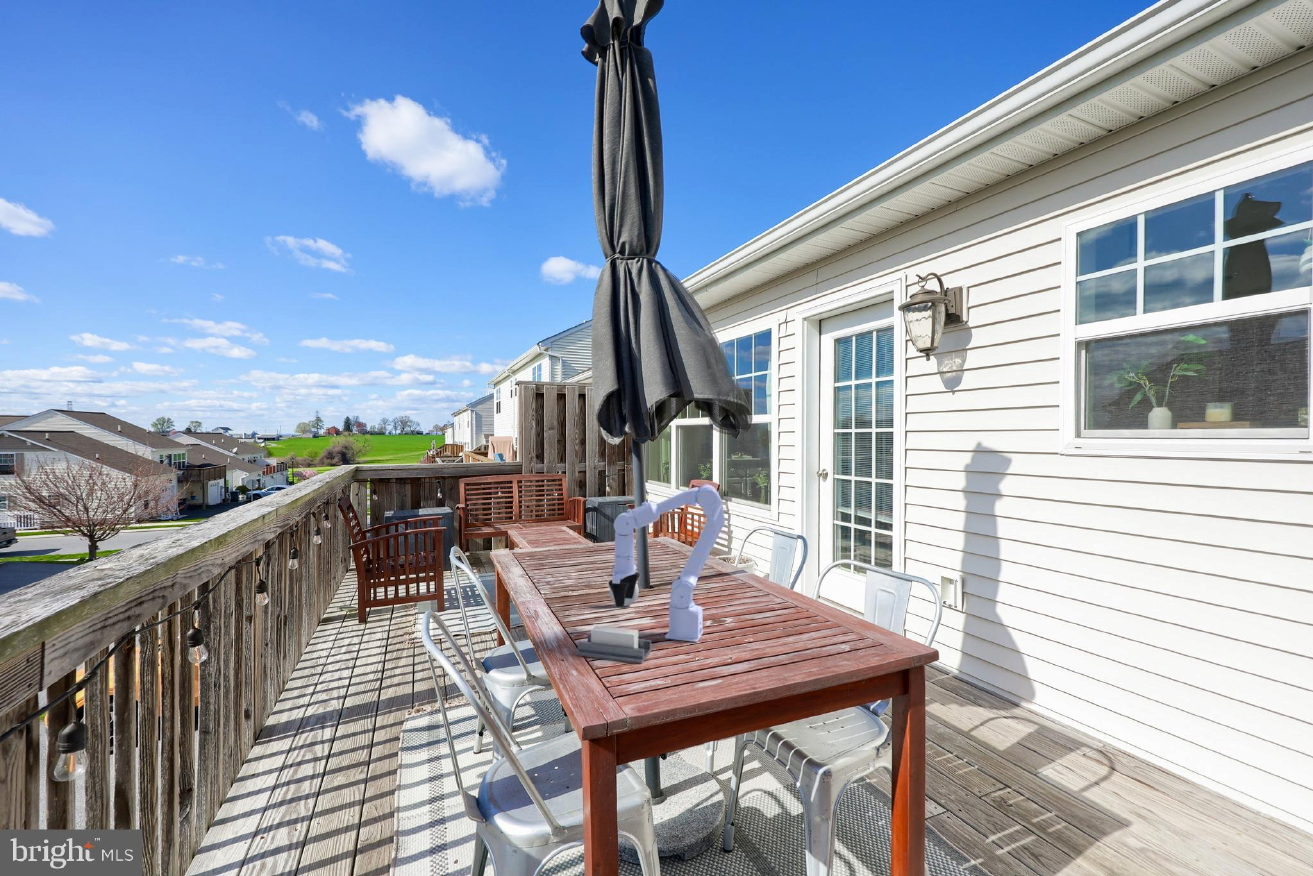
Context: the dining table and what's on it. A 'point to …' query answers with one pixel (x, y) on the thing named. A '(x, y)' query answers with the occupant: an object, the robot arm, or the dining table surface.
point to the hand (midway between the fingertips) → (624, 602)
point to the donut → (627, 600)
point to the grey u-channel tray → (615, 651)
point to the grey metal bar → (614, 636)
